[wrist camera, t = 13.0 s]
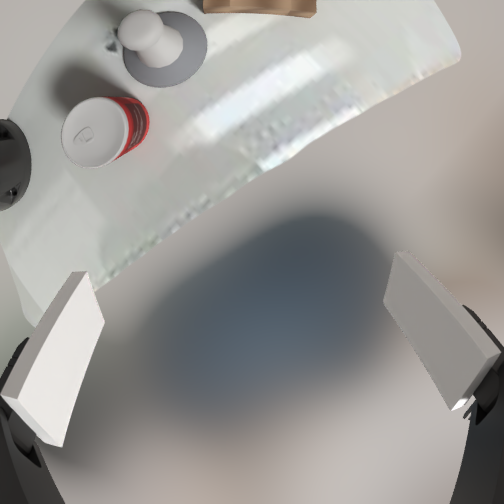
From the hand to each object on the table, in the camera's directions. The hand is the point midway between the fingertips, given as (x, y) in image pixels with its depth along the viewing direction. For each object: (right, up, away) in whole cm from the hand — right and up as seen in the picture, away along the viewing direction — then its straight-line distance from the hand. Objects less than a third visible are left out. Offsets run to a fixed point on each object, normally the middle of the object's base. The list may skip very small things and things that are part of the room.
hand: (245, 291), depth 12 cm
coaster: (-11, +28, +19) cm, 35 cm away
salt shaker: (-11, +27, +18) cm, 35 cm away
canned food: (-17, +19, +23) cm, 34 cm away
